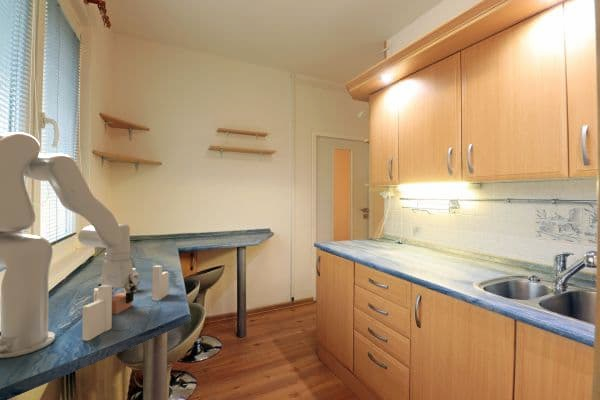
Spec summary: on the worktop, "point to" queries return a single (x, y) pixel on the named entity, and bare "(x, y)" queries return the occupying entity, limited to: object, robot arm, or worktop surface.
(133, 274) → the supplement bottle
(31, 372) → the worktop surface
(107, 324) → the wall frame
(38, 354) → the worktop surface
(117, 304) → the salmon orange block
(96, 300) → the gate door
